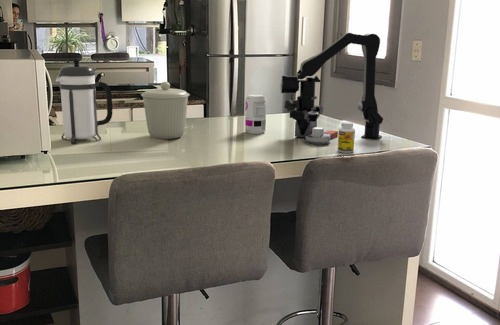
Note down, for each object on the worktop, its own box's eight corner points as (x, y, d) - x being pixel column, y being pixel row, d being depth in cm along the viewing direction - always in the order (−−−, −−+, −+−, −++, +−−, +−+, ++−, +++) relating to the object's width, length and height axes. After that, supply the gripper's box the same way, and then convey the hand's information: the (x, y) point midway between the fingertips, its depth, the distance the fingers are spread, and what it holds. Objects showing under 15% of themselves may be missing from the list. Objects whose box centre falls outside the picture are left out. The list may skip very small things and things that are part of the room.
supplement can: (243, 133, 218) (243, 96, 215) (248, 129, 226) (248, 93, 223) (262, 134, 217) (263, 97, 213) (267, 131, 224) (268, 94, 221)
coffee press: (93, 145, 194) (88, 59, 186) (52, 143, 197) (45, 58, 189) (114, 136, 210) (110, 56, 203) (76, 133, 213) (71, 55, 206)
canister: (132, 138, 207) (130, 82, 201) (161, 130, 222) (160, 78, 217) (171, 143, 199) (170, 85, 193) (199, 135, 214) (198, 81, 209)
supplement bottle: (335, 152, 190) (336, 123, 187) (340, 149, 194) (342, 120, 192) (350, 154, 187) (352, 124, 184) (355, 150, 192) (357, 122, 189)
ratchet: (322, 134, 220) (323, 120, 218) (344, 136, 215) (344, 123, 214) (301, 143, 202) (302, 128, 201) (323, 146, 198) (324, 131, 197)
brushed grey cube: (301, 133, 218) (302, 119, 216) (316, 135, 215) (317, 120, 213) (294, 136, 213) (295, 121, 211) (309, 138, 209) (310, 123, 208)
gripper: (298, 89, 221) (297, 127, 225) (277, 94, 206) (276, 135, 210) (324, 91, 216) (322, 130, 220) (304, 96, 200) (303, 138, 204)
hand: (305, 133), depth 213 cm, fingers closed on brushed grey cube, 6 cm apart
